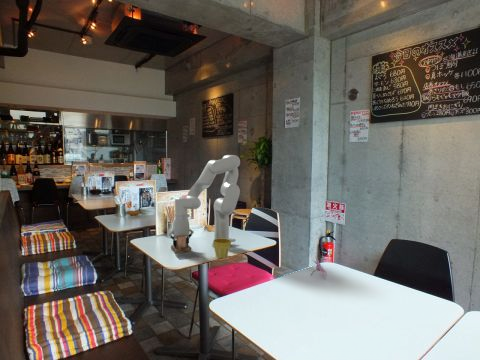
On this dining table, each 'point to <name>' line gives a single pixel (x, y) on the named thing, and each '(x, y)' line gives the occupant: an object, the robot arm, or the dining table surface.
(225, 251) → the plant pot
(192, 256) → the mat
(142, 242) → the dining table surface
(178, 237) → the brown wooden block
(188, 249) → the holder
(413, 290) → the dining table surface
